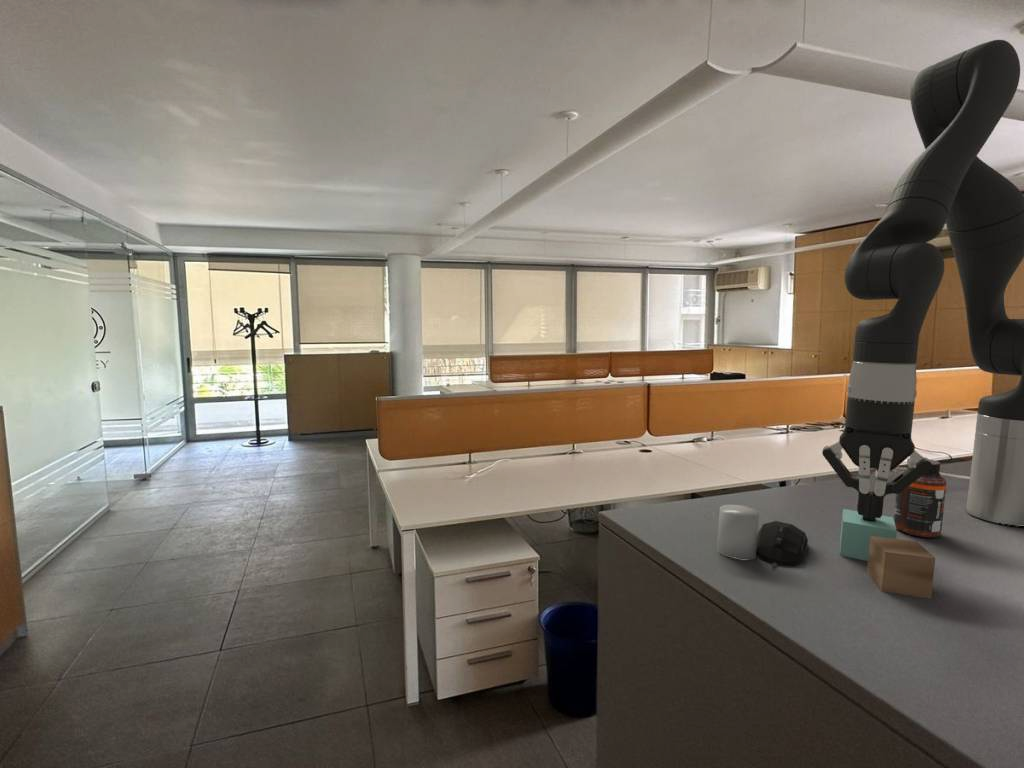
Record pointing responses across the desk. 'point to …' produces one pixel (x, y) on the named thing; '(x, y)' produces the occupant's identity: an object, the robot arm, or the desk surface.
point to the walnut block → (901, 566)
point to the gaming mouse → (781, 544)
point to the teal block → (862, 533)
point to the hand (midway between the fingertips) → (868, 518)
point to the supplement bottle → (922, 504)
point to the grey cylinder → (738, 531)
